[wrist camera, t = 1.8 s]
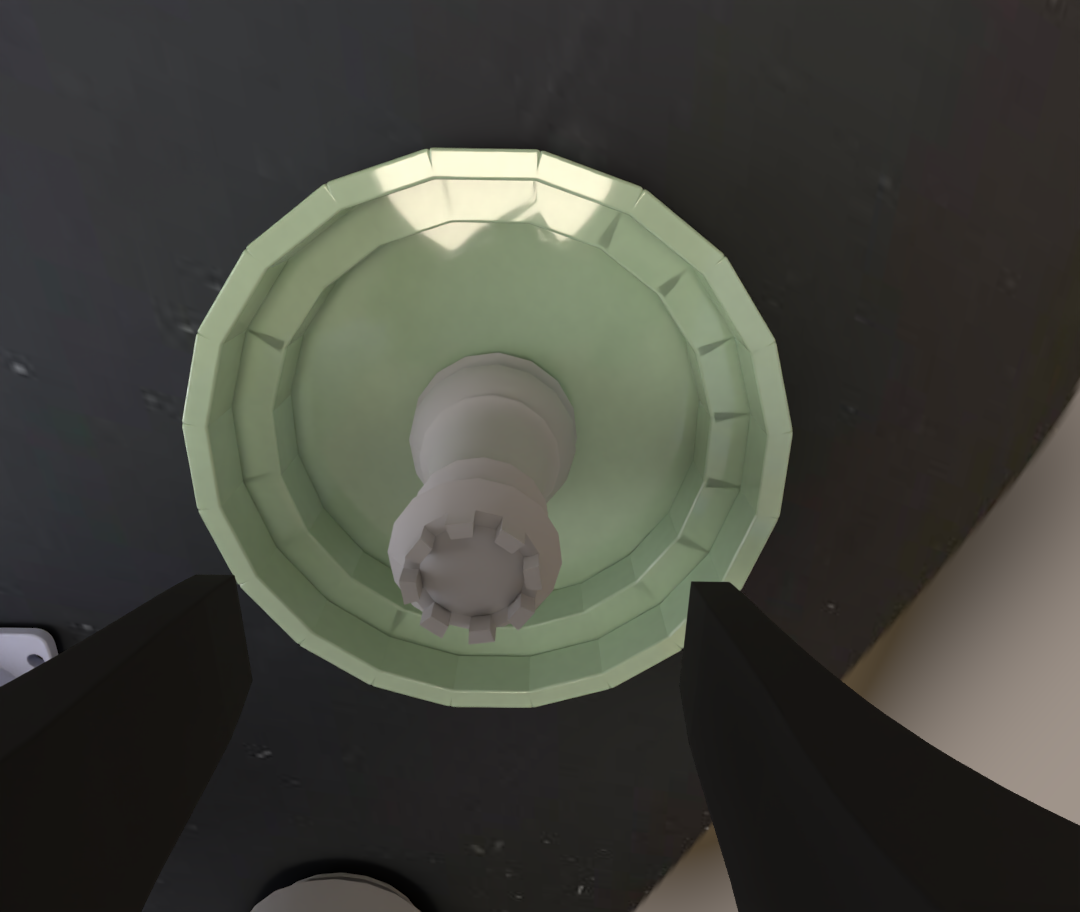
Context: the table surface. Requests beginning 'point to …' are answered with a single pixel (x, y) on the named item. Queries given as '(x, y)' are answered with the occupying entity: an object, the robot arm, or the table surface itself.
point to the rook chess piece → (484, 495)
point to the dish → (475, 329)
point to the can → (336, 896)
